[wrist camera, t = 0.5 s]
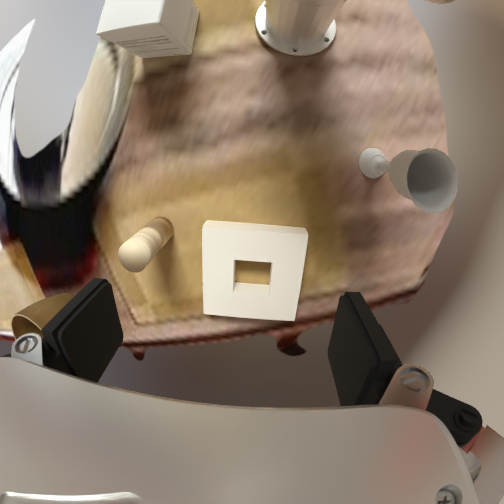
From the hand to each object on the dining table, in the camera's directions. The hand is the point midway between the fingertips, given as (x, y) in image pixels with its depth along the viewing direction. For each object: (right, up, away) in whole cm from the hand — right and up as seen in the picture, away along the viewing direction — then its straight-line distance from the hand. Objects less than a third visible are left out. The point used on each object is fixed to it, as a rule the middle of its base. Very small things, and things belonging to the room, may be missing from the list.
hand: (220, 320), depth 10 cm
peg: (-14, +7, +35) cm, 38 cm away
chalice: (+21, +17, +29) cm, 39 cm away
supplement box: (-12, +38, +22) cm, 45 cm away
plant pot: (-41, -10, +43) cm, 61 cm away
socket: (+1, 0, +37) cm, 37 cm away
